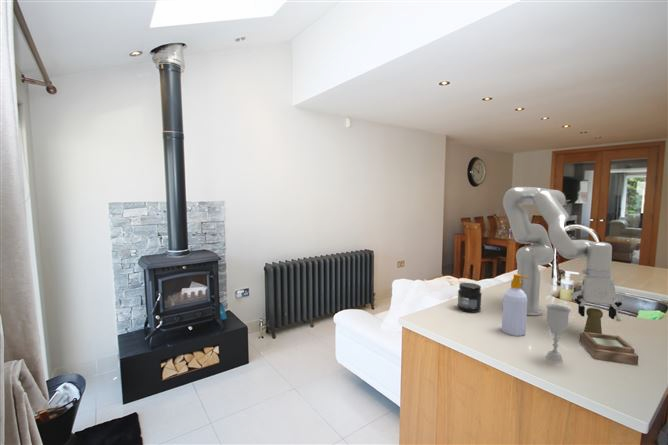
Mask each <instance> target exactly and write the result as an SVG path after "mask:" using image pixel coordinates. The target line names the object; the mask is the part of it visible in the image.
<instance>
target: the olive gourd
mask: <svg viewBox="0 0 668 445" xmlns="http://www.w3.org/2000/svg"><path fill="white" fill-rule="evenodd" d="M585 313H586V316H587V317H586V321H585V326H584V329H583V332H589V333H598V334H603V330H602V329H603V328H602V318H603V317H604V312H603V311H602V310H601V309H599V308H595V307H589V308H588V307H587V309H586V311H585Z"/></svg>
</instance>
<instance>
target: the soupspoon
mask: <svg viewBox="0 0 668 445" xmlns="http://www.w3.org/2000/svg"><path fill="white" fill-rule="evenodd" d="M606 307H607V308H609V307H610V305H609V304H607V305H606ZM623 310H625V309H624V308H623V307H622V306H619V307H618V309H616V317H615V321H617V320H619V321H618V322H621V321H622V319H621V318H620V313H619V311H623Z"/></svg>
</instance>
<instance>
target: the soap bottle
mask: <svg viewBox="0 0 668 445" xmlns="http://www.w3.org/2000/svg"><path fill="white" fill-rule="evenodd" d="M519 278H527V279H529V277H526V276H521V275H519V274H517V273H513V278H512V280H511V282H510V288H508V289H507V290H505V291H504V294H503V298H502V302H503V303H502V318H501V331H502V332H503V333H505V334H508V335H511V336H515V337H516V336H517V337H521V336H525V335H526V330H527V329H526V327H527V316H528V315H527V296H526V294H525V293H524V291H522V290H521V282H520V280H519Z"/></svg>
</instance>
